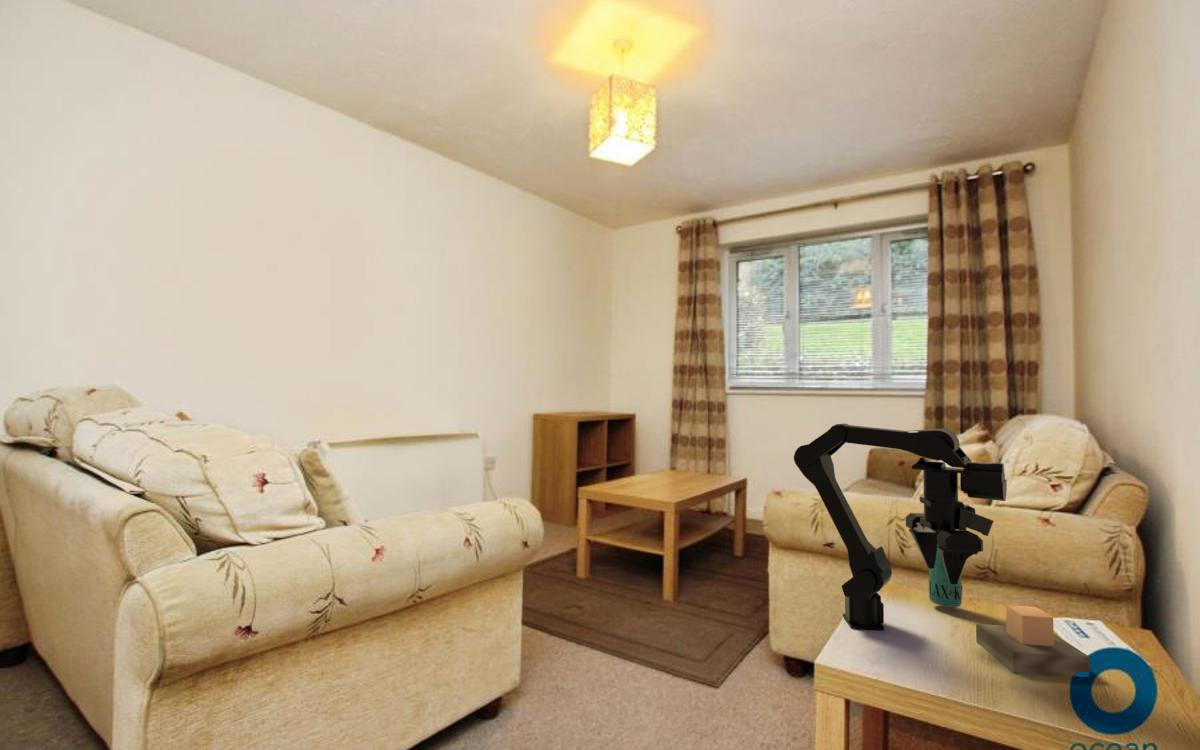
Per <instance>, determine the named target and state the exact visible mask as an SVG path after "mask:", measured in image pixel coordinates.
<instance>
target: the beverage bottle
mask: <svg viewBox="0 0 1200 750" xmlns="http://www.w3.org/2000/svg"><path fill="white" fill-rule="evenodd" d="M937 546H939V544H938V545H937ZM927 568H928V567H927ZM962 576H963V572H961V575H960V577H959V580H958V583H957V584H950V582H949V580H948V577H947V574H946V572H945V569H944V566H943V563H942V560H941V557H940V554H939V551H938V548H937V553H936V562H935V567H934V569H929V568H928V585H927V586H928V598H929V602H932V604H935V605H939V606H941V607H948V608H949V607H950V608H957V607H960V606H961V605H962V603H963V602H962V601H963V583H962V581H963V577H962Z"/></svg>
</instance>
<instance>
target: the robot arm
mask: <svg viewBox="0 0 1200 750" xmlns="http://www.w3.org/2000/svg"><path fill="white" fill-rule="evenodd" d="M845 444H854V445H862V446H871V447H877V448H879V447H880V448H887V449H894V450H895V449H896V450H900V451H904V452H908V453H911V454H913V455H916V456H919V458H918V460H917V462H915V463H914V464H912V465H911V469H912V470H919V471H923V479H922V480H923V496H919V503H920V504H923V512H919V513H918V512H909V513H908V514H907V515H906V516H905V527H906V528H909V529H908V532H909V533H910V534H911V536H912V538H913V541H914V542H915V544H916V546H917V548H918V550H919V552H920V554H921V556H922V559H923V561H924V563H925V564H926V565H925V566H927V568H929V569H934V567H935V562H936V553H937V548H938V551H939V554H940V557H941V560H942V563H943V566H944V569H945V572H946V574H947V577H948V580H949V582H950V584H957V583H958V580H959V577H960V575H961V573H963V569H964V567H965V564H966V562H967V560H968V558H970V557H972V556H973V555H978V554H979V553H981V552H983V551H984V540H983V539H982V538H981V537H980V536H979V535H978V534H975V533H973V532H972V531H975V532H978V533H980V534H981V535H983V536H985V537H988V536H989V534H990V532H991V529H992V527H993V524H994V520H993V519H990V518H987V517H985V516H982V515H980V514H978V513H977V512H976V509H975V507H972V506H970V505H968V504H967V505H966V504H964V502H962V501H960V500H959V485H960V491H961V492H963V494H966V495H967V497H968V498H969V499H970V498H972V499H978V500H979V499H980V500H981V499H982V500H990V501H991V500H992V501H1000V502H1001V501H1002V502H1006V500H1007V489H1008V488H1007V487H1008V483H1007V482H1008V480H1007V479H1006V474H1005V473H1006V472H1005V466H1004V463H1002V462H976V461H972V460H971V458H969V456H968V455H967V454H966V453H965V452H964V450H963V449H962V448H961V447H960V440H959V438H958V436H957V435H956V434H955V433H954V432H953V431H951V430H949V429H946V428H934V429H932V428H931V429H917V430H916V429H915V430H900V429H889V428H881V427H870V426H863V425H853V424H852V425H851V424H848V423H836V424H834V425H832V426H831V427H830V428H829V429H828V430H827V431H825V432H824V433H822V434H821V435H819V436H818V437H817V438H815V439H814V440H812V441H811V442H810V443H808V444H803V445H800V446H799V447H798V448H796V449H795V451H794V455H793V461H794V464H795V465H796V467H797V468H798V469H799V471H800V472H801V474H802V475H803V476H804V477H805V479H807V481H809V482H810V483H811V484H812V485H813V486H814V487H815V489H816V491H817V493H818V495H819V496H820V498H821V501H822V502H823V504H824V507H825V509H826V511H827V513H828V514H829V516H830V519H831V520H832V522H833V524H834V526H835V529H836V530H837V533H838V534H839V536H840V538H841V540H842V542H843V544H844V546H845V548H846V550H847V558H848V564H849V565H848V566H849V569H850V571H851V575H852V577H851V578H849V579H848V580H847V581H846V582H844V583H843V584H842V585H841V590H842V592H843V594H844V613H842V617H843V619H844V620H845V621H846V623H847V624H848V625H849V627H850V628H851V629H863V630H879V631H883V630H885V626H884V625H883V624H884V623H885V618H884V612H885V611H884V610H885V609H884V607H885V604H884V603H883V602H882V597H881V595H880V594H879V593H878V592H880V591H881V589H882V588H884V587H885V585H887V584H888V583H889V582H890V580H891V578H892V575H893V572H892V568H891V566H892V565H893V563H892V562H891V561H890V560H889V559H888V557H887V555H886V553H885V549H884V548H883V546H879V547H877V548H875V546H874V545H872V544H871V542H870V541H869V540H868V539H867V536H866V535H865V533H864V531H863V529H862V527H861V525H860V523H859V521H858V519H857V518H856V516H855V514H854V512H853V509H852V507H851V506H850V503H849V502H848V500H847V498H846V496H845V495H844V493H843V491H842V489H841V487H840V485H839V483H838V481H837V478H836V474H835V466H834V462H833V459H832V456H833V455H834V454H835V453H837V452H838V451H839V450H840V449H841V448H842V447H843V446H844V445H845ZM928 459H929V460H930V461H929V460H928ZM931 460H933V461H931ZM941 461H942V462H941ZM947 465H948V466H949V467H947ZM959 474H960V475H959ZM959 476H960V479H959ZM959 483H960V484H959ZM967 528H968V529H969V530H972V531H969V530H967ZM938 544H939V546H937V545H938ZM929 569H928V570H929ZM961 576H962V575H961Z"/></svg>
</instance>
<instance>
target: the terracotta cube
mask: <svg viewBox="0 0 1200 750" xmlns="http://www.w3.org/2000/svg"><path fill="white" fill-rule="evenodd" d="M1005 607H1006V609H1005V610H1006V612H1005V613H1006V614H1005V615H1006V626H1007V633H1008V634H1010V635H1011V636H1012V637H1014V638H1015V639H1016V640H1018V641H1019V642H1020V643H1022V644H1027V645H1043V646H1054V634H1055V632H1054V616H1051V615H1050V614H1048V613H1046V612H1045V611H1043V610H1041V609H1040V608H1038V607H1036V606H1028V605H1027V606H1026V605H1025V606H1024V605H1011V604H1009V605H1006V606H1005Z"/></svg>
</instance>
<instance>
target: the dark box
mask: <svg viewBox="0 0 1200 750" xmlns="http://www.w3.org/2000/svg"><path fill="white" fill-rule="evenodd" d="M975 633H976V634H975V635H976V636H975V637H976V639H975V642H976V643H977V644H978V645H979V646H980V647H982V649H984V650H985V651H986V652H988V653H989V654H990V655H991V656H992V657H993V658H994V659H996V660H997V661H998V662H999V663H1000V664H1002V665H1003V667H1005V668H1007V669H1008V670H1009V671H1010V672H1011V673H1012V674H1020V675H1034V676H1037V675H1038V676H1049V677H1050V676H1053V677H1064V676H1066V678H1073V677H1072V676H1074V675H1075V674H1076V673H1077V672H1090V673H1091V658H1090V657H1091V656H1089V655H1087V654H1086V653H1085V652H1083V651H1081V650H1080V649H1078V648H1077V647H1075V646H1073V645H1072V644H1070V643H1069V642H1067V641H1066V640H1064V639H1062V638H1061V637H1060V636H1058V635H1056V634H1055V633H1054V646H1043V645H1027V644H1022V643H1020V642H1019V641H1018V640H1016V639H1015V638H1014V637H1012V636H1011V635H1010V634H1008V633H1007V624H1003V625H1002V624H986V623H985V624H982V623H976V624H975Z"/></svg>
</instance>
